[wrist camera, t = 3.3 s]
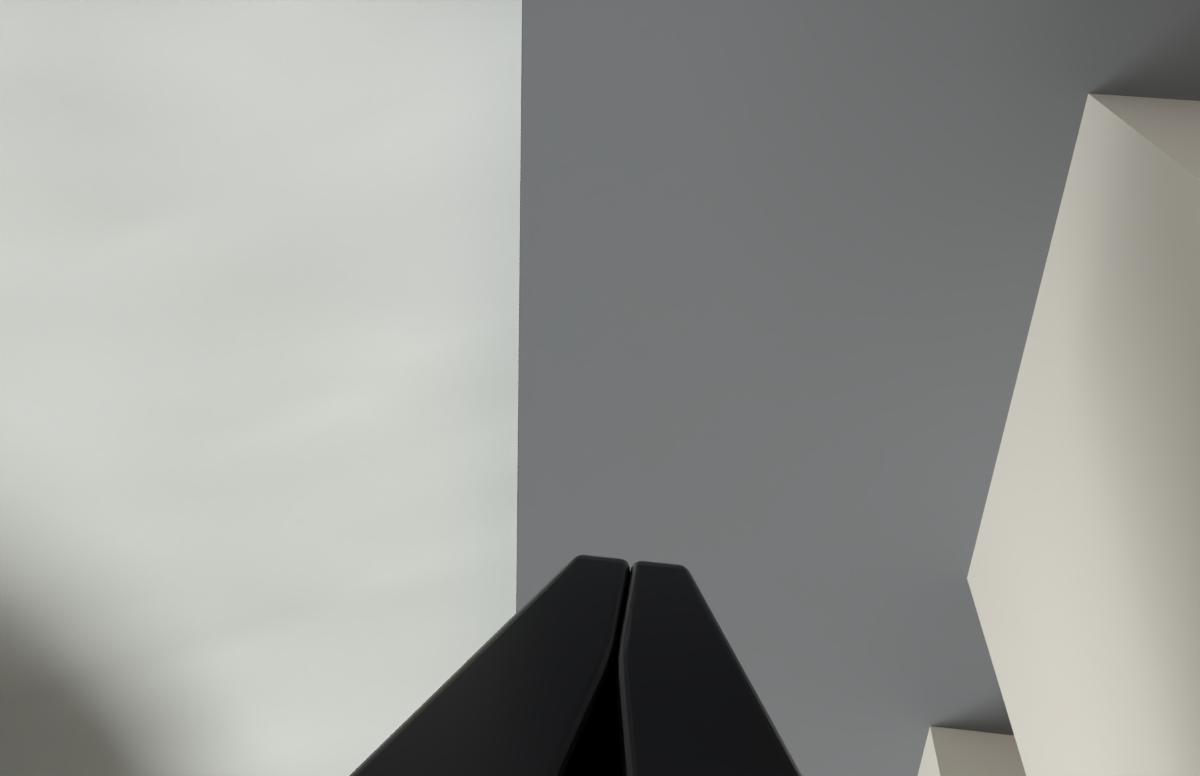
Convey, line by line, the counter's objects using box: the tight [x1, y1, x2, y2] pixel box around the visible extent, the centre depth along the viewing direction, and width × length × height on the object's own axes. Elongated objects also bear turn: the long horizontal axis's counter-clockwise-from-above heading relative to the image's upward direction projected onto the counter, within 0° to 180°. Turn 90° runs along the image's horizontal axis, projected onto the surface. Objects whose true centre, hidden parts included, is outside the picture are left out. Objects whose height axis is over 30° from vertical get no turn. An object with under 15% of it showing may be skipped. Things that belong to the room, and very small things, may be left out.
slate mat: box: [516, 0, 1200, 776], centre depth 14 cm, size 16×18×1 cm
